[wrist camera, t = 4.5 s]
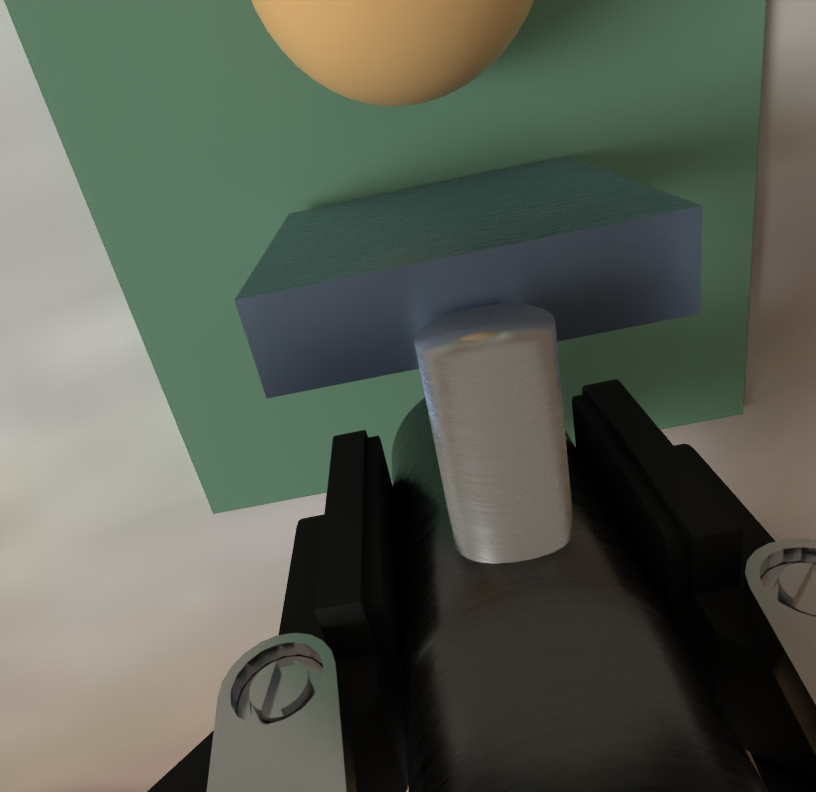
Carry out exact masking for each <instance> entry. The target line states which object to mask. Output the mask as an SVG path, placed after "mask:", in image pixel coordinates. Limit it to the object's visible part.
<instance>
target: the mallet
mask: <svg viewBox="0 0 816 792" xmlns="http://www.w3.org/2000/svg"><path fill="white" fill-rule="evenodd" d="M702 207H703V206H702V205H700V204H697V203H694V202H691V201H689V200H686V199H683V198H681V197H678V196H675V195H672V194H670V193H667V192H664V191H662V190H659V189H656V188H654V187H651V186H648V185H645V184H643V183H640V182H637V181H635V180H632V179H629V178H627V177H624V176H621V175H618V174H616V173H613V172H610V171H608V170H605V169H602V168H600V167H597V166H594V165H591V164H589V163H586V162H583V161H581V160H578V159H575V158H573V157H570V156H565V157H560V158H556V159H551V160H546V161H541V162H536V163H531V164H527V165H522V166H517V167H512V168H507V169H502V170H497V171H493V172H488V173H483V174H478V175H473V176H468V177H464V178H459V179H454V180H449V181H444V182H439V183H435V184H430V185H425V186H420V187H415V188H410V189H406V190H401V191H396V192H391V193H386V194H381V195H376V196H372V197H367V198H362V199H357V200H352V201H347V202H343V203H338V204H333V205H328V206H323V207H318V208H314V209H309V210H304V211H299V212H294V213H289V214H288V216H287V218H286V219H285V221H284V222H283V224H282V226H281V227H280V229H279V230H278V232H277V233H276V235H275V237H274V238H273V240H272V241H271V243H270V245H269V246H268V248H267V249H266V251H265V252H264V254H263V256H262V257H261V259H260V260H259V262H258V264H257V265H256V267H255V268H254V270H253V271H252V273H251V275H250V276H249V278H248V279H247V281H246V283H245V284H244V286H243V287H242V289H241V290H240V292H239V294H238V295H237V297H236V298H235V300H234V301H235V304H236V307H237V310H238V313H239V316H240V319H241V322H242V325H243V328H244V331H245V334H246V337H247V340H248V343H249V346H250V349H251V352H252V356H253V359H254V362H255V365H256V368H257V371H258V374H259V377H260V380H261V383H262V386H263V389H264V392H265V395H266V398H272V397H277V396H282V395H287V394H293V393H298V392H303V391H308V390H313V389H318V388H323V387H328V386H333V385H339V384H344V383H349V382H354V381H359V380H364V379H369V378H374V377H379V376H385V375H390V374H395V373H400V372H405V371H410V370H415V369H420V374H421V379H422V384H423V389H424V394H425V398H423V399H422V400H421V401H420V402H419V403H418V404H416V405H415V406H414V407H413V408H412V410H411V411H410V412H409V413H408V414H407V415H406V417H405V418H404V420H403V421H402V423H401V425H400V427H399V429H398V431H397V433H396V436H395V439H394V442H393V447H392V482H393V497H394V516H395V535H396V554H397V572H398V591H399V610H400V628H401V647H402V666H403V689H404V708H405V727H406V746H407V765H408V784H409V792H768V790H767V788H766V786H765V785H764V783H763V781H762V779H761V777H760V776H759V774H758V772H757V770H756V768H755V767H754V765H753V763H752V761H751V760H750V758H749V756H748V754H747V752H746V751H745V749H744V747H743V745H742V743H741V742H740V740H739V738H738V736H737V735H736V733H735V731H734V729H733V727H732V726H731V724H730V722H729V720H728V718H727V717H726V715H725V713H724V711H723V710H722V708H721V706H720V704H719V702H718V701H717V699H716V697H715V695H714V694H713V692H712V690H711V688H710V686H709V685H708V683H707V681H706V679H705V677H704V676H703V674H702V672H701V670H700V669H699V667H698V665H697V663H696V661H695V660H694V658H693V656H692V654H691V652H690V651H689V649H688V647H687V645H686V644H685V642H684V640H683V638H682V636H681V635H680V633H679V631H678V629H677V627H676V626H675V624H674V622H673V620H672V619H671V617H670V615H669V613H668V611H667V610H666V608H665V606H664V604H663V602H662V601H661V599H660V597H659V595H658V594H657V592H656V590H655V588H654V586H653V585H652V583H651V581H650V579H649V578H648V576H647V574H646V572H645V570H644V569H643V567H642V565H641V563H640V561H639V560H638V558H637V556H636V554H635V553H634V551H633V549H632V547H631V545H630V544H629V542H628V540H627V538H626V536H625V535H624V533H623V531H622V529H621V528H620V526H619V524H618V522H617V520H616V519H615V517H614V515H613V513H612V511H611V510H610V508H609V506H608V504H607V503H606V501H605V499H604V497H603V495H602V494H601V492H600V490H599V488H598V487H597V485H596V483H595V481H594V479H593V478H592V476H591V474H590V472H589V470H588V469H587V467H586V465H585V463H584V462H583V460H582V458H581V456H580V454H579V453H578V451H577V449H576V447H575V445H574V444H573V442H572V440H571V438H570V437H569V435H568V433H567V431H566V429H565V424H564V413H563V402H562V390H561V379H560V368H559V357H558V346H557V342H558V341H563V340H569V339H574V338H579V337H584V336H589V335H594V334H599V333H604V332H609V331H615V330H620V329H625V328H630V327H635V326H640V325H645V324H650V323H655V322H661V321H666V320H671V319H676V318H681V317H686V316H691V315H696V314H700V308H701V258H702Z"/></svg>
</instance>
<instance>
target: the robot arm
mask: <svg viewBox="0 0 816 792" xmlns="http://www.w3.org/2000/svg"><path fill="white" fill-rule="evenodd" d="M572 411H573V421H574V432H575V443H576V449H577V451H578V453H579V454H580V456H581V458H582V460H583V462H584V463H585V465H586V467H587V469H588V470H589V472H590V474H591V476H592V478H593V479H594V481H595V483H596V485H597V487H598V488H599V490H600V492H601V494H602V495H603V497H604V499H605V501H606V503H607V504H608V506H609V508H610V510H611V511H612V513H613V515H614V517H615V519H616V520H617V522H618V524H619V526H620V528H621V529H622V531H623V533H624V535H625V536H626V538H627V540H628V542H629V544H630V545H631V547H632V549H633V551H634V553H635V554H636V556H637V558H638V560H639V561H640V563H641V565H642V567H643V569H644V570H645V572H646V574H647V576H648V578H649V579H650V581H651V583H652V585H653V586H654V588H655V590H656V592H657V594H658V595H659V597H660V599H661V601H662V602H663V604H664V606H665V608H666V610H667V611H668V613H669V615H670V617H671V619H672V620H673V622H674V624H675V626H676V627H677V629H678V631H679V633H680V635H681V636H682V638H683V640H684V642H685V644H686V645H687V647H688V649H689V651H690V652H691V654H692V656H693V658H694V660H695V661H696V663H697V665H698V667H699V669H700V670H701V672H702V674H703V676H704V677H705V679H706V681H707V683H708V685H709V686H710V688H711V690H712V692H713V694H714V695H715V697H716V699H717V701H718V702H719V704H720V706H721V708H722V710H723V711H724V713H725V715H726V717H727V718H728V720H729V722H730V724H731V726H732V727H733V729H734V731H735V733H736V735H737V736H738V738H739V740H740V742H741V743H742V745H743V747H744V749H745V751H746V752H747V754H748V756H749V758H750V760H751V761H752V763H753V765H754V767H755V768H756V770H757V772H758V774H759V776H760V777H761V779H762V781H763V783H764V785H765V786H766V788H767V790H768V792H816V541H815V540H809V539H785V540H781V541H775V540H774V539H773V538H772V537H771V536H770V535H769V533H768V532H767V531H766V530H765V529H764V528H763V527H762V525H761V524H760V523H759V522H758V521H757V520H756V519H755V518H754V516H753V515H752V514H751V513H750V512H749V511H748V510H747V508H746V507H745V506H744V505H743V504H742V503H741V502H740V500H739V499H738V498H737V497H736V496H735V495H734V494H733V493H732V491H731V490H730V489H729V488H728V487H727V486H726V485H725V483H724V482H723V481H722V480H721V479H720V478H719V477H718V475H717V474H716V473H715V472H714V471H713V470H712V469H711V468H710V466H709V465H708V464H707V463H706V462H705V461H704V460H703V458H702V457H701V456H700V455H699V454H698V453H697V452H696V451H695V449H693V448H692V447H691V446H690V445H688V444H680V445H675V446H673V445H672V443H671V442H670V441H669V440H668V439H667V437H666V436H665V435H664V434H663V433H662V431H661V430H660V429H659V428H658V427H657V425H656V424H655V423H654V422H653V421H652V419H651V418H650V417H649V416H648V415H647V413H646V412H645V411H644V410H643V409H642V407H641V406H640V405H639V404H638V403H637V401H636V400H635V399H634V398H633V396H632V395H631V394H630V393H629V392H628V390H627V389H626V388H625V387H624V386H623V384H622V383H621V382H620V381H619V380H618V379H614V380H609V381H604V382H599V383H594V384H589V385H584V386H583V388H582V395H577V396H573V397H572ZM407 785H409V784H408V765H407V746H406V727H405V708H404V689H403V666H402V647H401V628H400V610H399V591H398V572H397V554H396V535H395V516H394V497H393V486H392V482H391V478H390V474H389V470H388V466H387V462H386V459H385V455H384V451H383V447H382V443H381V440H380V437H379V435H378V436H373V437H368V435H367V432H366V430H361V431H356V432H351V433H346V434H341V435H336V436H333V441H332V450H331V460H330V469H329V478H328V488H327V497H326V506H325V514H324V515H319V516H314V517H309V518H304V519H301V520H299V521H298V525H297V529H296V535H295V541H294V547H293V553H292V559H291V565H290V571H289V577H288V583H287V589H286V595H285V600H284V606H283V612H282V618H281V624H280V630H279V635H278V636H275V637H273V638H270V639H268V640H265V641H263V642H260V643H259V644H257V645H256V646H254V647H253V648H251V649H250V650H248V651H247V652H245V653H244V654H243V655H242V656H241V657H240V658H239V659H238V660H237V661H236V662H235V663H234V664H233V666H232V667H231V668H230V670H229V672H228V673H227V675H226V676H225V678H224V680H223V681H222V684H221V688H220V691H219V695H218V699H217V707H216V716H215V724H214V731H213V732H212V733H210V734H209V735H208V736H207V737H206V738H205V739H204V740H203V741H202V742H201V743H200V744H199V745H197V746H196V747H195V748H194V749H193V750H192V751H191V752H190V753H189V754H188V755H187V756H185V757H184V758H183V759H182V760H181V761H180V762H179V763H178V764H177V765H176V766H175V767H174V768H172V769H171V770H170V771H169V772H168V773H167V774H166V775H165V776H164V777H163V778H162V779H160V780H159V781H158V782H157V783H156V784H155V785H154V786H153V787H152V788H151V789H150V790H149V791H147V792H406V790H407V789H408V786H407Z"/></svg>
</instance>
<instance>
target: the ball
mask: <svg viewBox="0 0 816 792" xmlns="http://www.w3.org/2000/svg"><path fill="white" fill-rule="evenodd" d="M251 1H252V4H253V6H254V8H255V10H256V12H257V14H258V16H259V17H260V19H261V21H262V23H263V24H264V26H265V28H266V29H267V31H268V33H269V34H270V35H271V37H272V38H273V39H274V41H275V42H276V43H277V45H278V46H279V47H280V49H281V50H282V51H283V52H284V53H285V54H286V55H287V56H288V57H289V58H290V60H291V61H292V62H293V63H294V64H295V65H296V66H297V67H298V68H300V69H301V70H302V71H303V72H304V73H306V74H307V75H308V76H309V77H310V78H312V79H313V80H315V81H316V82H318V83H319V84H321V85H322V86H324V87H326V88H327V89H329V90H331V91H333V92H335V93H337V94H339V95H342V96H344V97H346V98H349V99H352V100H355V101H359V102H362V103H365V104H372V105H378V106H409V105H416V104H422V103H425V102H429V101H432V100H436V99H439V98H441V97H443V96H446V95H448V94H450V93H452V92H454V91H456V90H458V89H460V88H461V87H463V86H464V85H466V84H468V83H469V82H471V81H473V80H474V79H475V78H477V77H478V76H479V75H480V74H481V73H483V72H484V71H485V70H486V69H487V68H489V67H490V66H491V65H492V64H493V63H494V62H495V61H496V59H497V58H498V57H499V56H500V55H501V54H502V53H503V52H504V51H505V49H506V48H507V47H508V45H509V44H510V43H511V41H512V40H513V39H514V37H515V36H516V35H517V33H518V31H519V29H520V28H521V26H522V24H523V22H524V21H525V19H526V17H527V16H528V13H529V11H530V9H531V6H532V4H533V2H534V0H251Z"/></svg>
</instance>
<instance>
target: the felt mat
mask: <svg viewBox="0 0 816 792" xmlns="http://www.w3.org/2000/svg"><path fill="white" fill-rule="evenodd" d="M4 2H5V4H6V6H7V9H8V11H9V14H10V16H11V19H12V21H13V24H14V26H15V29H16V31H17V33H18V36H19V38H20V41H21V43H22V46H23V48H24V51H25V53H26V56H27V58H28V60H29V63H30V65H31V68H32V70H33V73H34V75H35V78H36V80H37V82H38V85H39V87H40V90H41V92H42V95H43V97H44V100H45V102H46V105H47V107H48V109H49V112H50V114H51V117H52V119H53V122H54V124H55V127H56V129H57V131H58V134H59V136H60V139H61V141H62V144H63V146H64V149H65V151H66V154H67V156H68V158H69V161H70V163H71V166H72V168H73V171H74V173H75V176H76V178H77V180H78V183H79V185H80V188H81V190H82V193H83V195H84V198H85V200H86V203H87V205H88V207H89V210H90V212H91V215H92V217H93V220H94V222H95V225H96V227H97V230H98V232H99V234H100V237H101V239H102V242H103V244H104V247H105V249H106V252H107V254H108V256H109V259H110V261H111V264H112V266H113V269H114V271H115V274H116V276H117V279H118V281H119V283H120V286H121V288H122V291H123V293H124V296H125V298H126V301H127V303H128V305H129V308H130V310H131V313H132V315H133V318H134V320H135V323H136V325H137V328H138V330H139V332H140V335H141V337H142V340H143V342H144V345H145V347H146V350H147V352H148V355H149V357H150V359H151V362H152V364H153V367H154V369H155V372H156V374H157V377H158V379H159V381H160V384H161V386H162V389H163V391H164V394H165V396H166V399H167V401H168V404H169V406H170V408H171V411H172V413H173V416H174V418H175V421H176V423H177V426H178V428H179V430H180V433H181V435H182V438H183V440H184V443H185V445H186V448H187V450H188V453H189V455H190V457H191V460H192V462H193V465H194V467H195V470H196V472H197V475H198V477H199V480H200V482H201V484H202V487H203V489H204V492H205V494H206V497H207V499H208V502H209V504H210V506H211V509H212V511H213V514H215V513H220V512H226V511H231V510H236V509H241V508H247V507H252V506H257V505H263V504H268V503H273V502H278V501H284V500H289V499H294V498H300V497H305V496H310V495H315V494H321V493H326V492H327V488H328V478H329V469H330V460H331V450H332V441H333V436H336V435H341V434H346V433H351V432H356V431H361V430H366V432H367V435H368V437H373V436H378V435H379V437H380V440H381V443H382V447H383V451H384V455H385V459H386V462H387V466H388V470H389V474H390V478H391V480H392V447H393V442H394V439H395V436H396V433H397V431H398V429H399V427H400V425H401V423H402V421H403V420H404V418H405V417H406V415H407V414H408V413H409V412H410V411H411V410H412V408H413V407H414V406H415V405H416V404H418V403H419V402H420V401H421V400H422V399H423V398H425V394H424V389H423V384H422V379H421V374H420V369H415V370H410V371H405V372H400V373H395V374H390V375H385V376H379V377H374V378H369V379H364V380H359V381H354V382H349V383H344V384H339V385H333V386H328V387H323V388H318V389H313V390H308V391H303V392H298V393H293V394H287V395H282V396H277V397H272V398H266V395H265V392H264V389H263V386H262V383H261V380H260V377H259V374H258V371H257V368H256V365H255V362H254V359H253V356H252V352H251V349H250V346H249V343H248V340H247V337H246V334H245V331H244V328H243V325H242V322H241V319H240V316H239V313H238V310H237V307H236V304H235V301H234V300H235V298H236V297H237V295H238V294H239V292H240V290H241V289H242V287H243V286H244V284H245V283H246V281H247V279H248V278H249V276H250V275H251V273H252V271H253V270H254V268H255V267H256V265H257V264H258V262H259V260H260V259H261V257H262V256H263V254H264V252H265V251H266V249H267V248H268V246H269V245H270V243H271V241H272V240H273V238H274V237H275V235H276V233H277V232H278V230H279V229H280V227H281V226H282V224H283V222H284V221H285V219H286V218H287V216H288V214H289V213H294V212H299V211H304V210H309V209H314V208H318V207H323V206H328V205H333V204H338V203H343V202H347V201H352V200H357V199H362V198H367V197H372V196H376V195H381V194H386V193H391V192H396V191H401V190H406V189H410V188H415V187H420V186H425V185H430V184H435V183H439V182H444V181H449V180H454V179H459V178H464V177H468V176H473V175H478V174H483V173H488V172H493V171H497V170H502V169H507V168H512V167H517V166H522V165H527V164H531V163H536V162H541V161H546V160H551V159H556V158H560V157H565V156H570V157H573V158H575V159H578V160H581V161H583V162H586V163H589V164H591V165H594V166H597V167H600V168H602V169H605V170H608V171H610V172H613V173H616V174H618V175H621V176H624V177H627V178H629V179H632V180H635V181H637V182H640V183H643V184H645V185H648V186H651V187H654V188H656V189H659V190H662V191H664V192H667V193H670V194H672V195H675V196H678V197H681V198H683V199H686V200H689V201H691V202H694V203H697V204H700V205H702V206H703V207H702V258H701V308H700V314H696V315H691V316H686V317H681V318H676V319H671V320H666V321H661V322H655V323H650V324H645V325H640V326H635V327H630V328H625V329H620V330H615V331H609V332H604V333H599V334H594V335H589V336H584V337H579V338H574V339H569V340H563V341H558V342H557V346H558V357H559V368H560V379H561V390H562V402H563V413H564V424H565V429H566V431H567V433H568V435H569V437H570V438H571V440H572V442H573V444H574V445H576V443H575V432H574V421H573V411H572V397H573V396H577V395H582V388H583V386H584V385H589V384H594V383H599V382H604V381H609V380H614V379H618V380H619V381H620V382H621V383H622V384H623V386H624V387H625V388H626V389H627V390H628V392H629V393H630V394H631V395H632V396H633V398H634V399H635V400H636V401H637V403H638V404H639V405H640V406H641V407H642V409H643V410H644V411H645V412H646V413H647V415H648V416H649V417H650V418H651V419H652V421H653V422H654V423H655V424H656V425H657V427H658V428H659V429H664V428H670V427H675V426H680V425H685V424H691V423H696V422H701V421H707V420H712V419H717V418H722V417H728V416H733V415H738V414H743V404H744V386H745V368H746V350H747V332H748V314H749V297H750V279H751V261H752V243H753V225H754V207H755V189H756V172H757V154H758V136H759V118H760V100H761V82H762V64H763V47H764V29H765V11H766V0H534V2H533V4H532V6H531V9H530V11H529V13H528V16H527V17H526V19H525V21H524V22H523V24H522V26H521V28H520V29H519V31H518V33H517V35H516V36H515V37H514V39H513V40H512V41H511V43H510V44H509V45H508V47H507V48H506V49H505V51H504V52H503V53H502V54H501V55H500V56H499V57H498V58H497V59H496V61H495V62H494V63H493V64H492V65H491V66H490V67H489V68H487V69H486V70H485V71H484V72H483V73H481V74H480V75H479V76H478V77H477V78H475V79H474V80H473V81H471V82H469V83H468V84H466V85H464V86H463V87H461V88H460V89H458V90H456V91H454V92H452V93H450V94H448V95H446V96H443V97H441V98H439V99H436V100H432V101H429V102H425V103H422V104H416V105H409V106H378V105H372V104H365V103H362V102H359V101H355V100H352V99H349V98H346V97H344V96H342V95H339V94H337V93H335V92H333V91H331V90H329V89H327V88H326V87H324V86H322V85H321V84H319V83H318V82H316V81H315V80H313V79H312V78H310V77H309V76H308V75H307V74H306V73H304V72H303V71H302V70H301V69H300V68H298V67H297V66H296V65H295V64H294V63H293V62H292V61H291V60H290V58H289V57H288V56H287V55H286V54H285V53H284V52H283V51H282V50H281V49H280V47H279V46H278V45H277V43H276V42H275V41H274V39H273V38H272V37H271V35H270V34H269V33H268V31H267V29H266V28H265V26H264V24H263V23H262V21H261V19H260V17H259V16H258V14H257V12H256V10H255V8H254V6H253V4H252V1H251V0H4Z"/></svg>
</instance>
